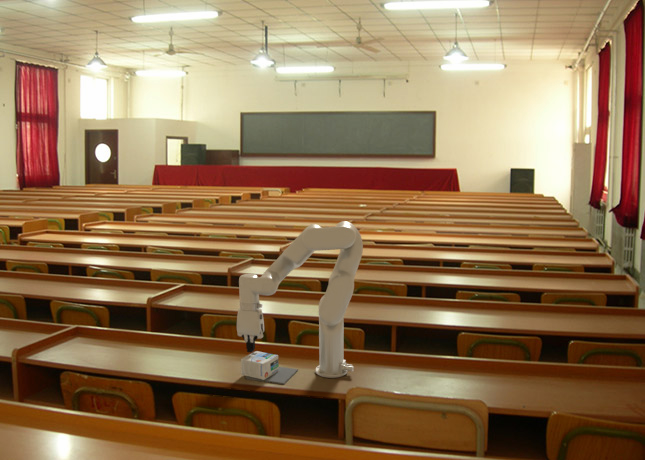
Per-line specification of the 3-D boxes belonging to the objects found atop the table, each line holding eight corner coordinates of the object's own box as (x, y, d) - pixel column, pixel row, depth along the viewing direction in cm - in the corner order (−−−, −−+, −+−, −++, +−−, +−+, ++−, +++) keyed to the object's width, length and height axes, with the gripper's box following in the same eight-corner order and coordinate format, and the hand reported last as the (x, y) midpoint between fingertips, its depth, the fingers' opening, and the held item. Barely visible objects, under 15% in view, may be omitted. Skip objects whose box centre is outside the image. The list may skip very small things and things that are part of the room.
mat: (297, 370, 246) (297, 369, 246) (284, 384, 233) (284, 383, 233) (261, 365, 251) (261, 364, 251) (245, 378, 238) (245, 377, 238)
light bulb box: (256, 350, 248) (278, 354, 243) (256, 366, 249) (279, 371, 244) (240, 359, 239) (263, 363, 234) (240, 375, 240) (263, 380, 235)
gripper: (271, 305, 241) (272, 350, 245) (236, 301, 246) (238, 345, 249) (263, 310, 234) (264, 356, 238) (227, 306, 239) (229, 352, 242)
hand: (250, 351), depth 243 cm, fingers closed
